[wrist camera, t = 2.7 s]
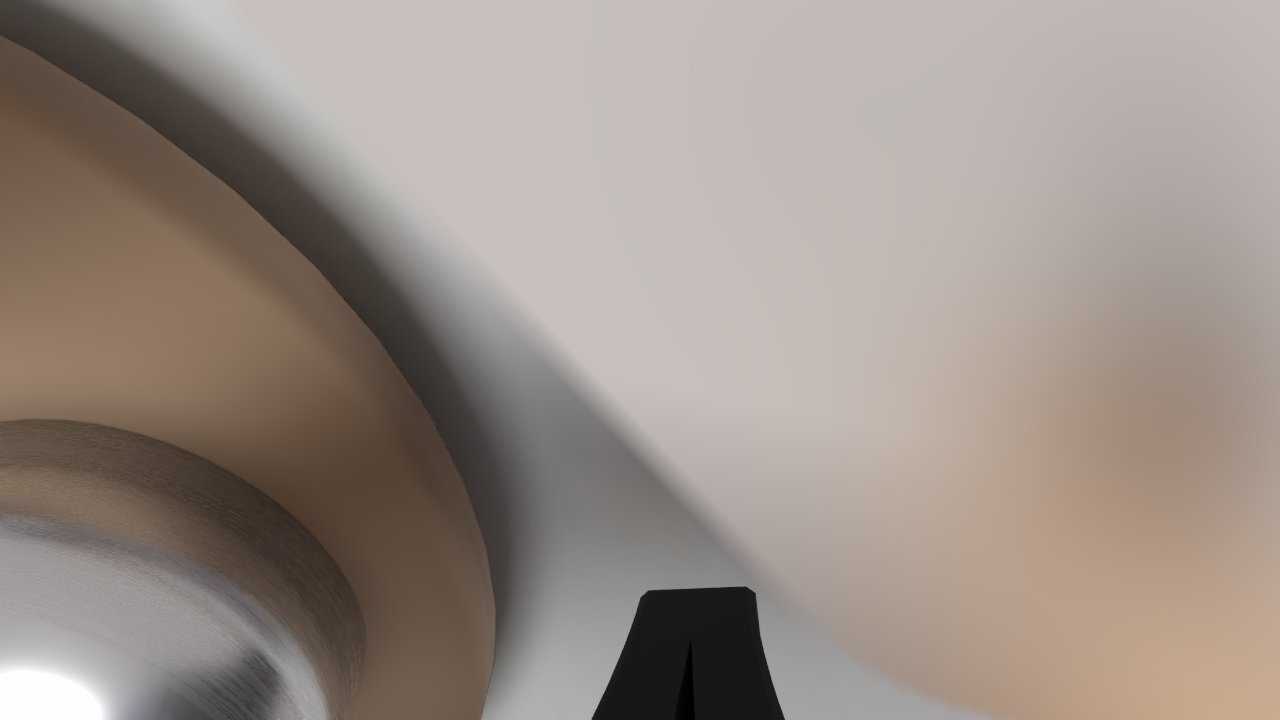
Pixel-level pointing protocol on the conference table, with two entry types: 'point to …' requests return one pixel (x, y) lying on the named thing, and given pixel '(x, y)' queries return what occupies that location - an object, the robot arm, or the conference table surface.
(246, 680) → the aluminium cap
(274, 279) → the platter
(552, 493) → the conference table surface
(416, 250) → the conference table surface
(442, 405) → the conference table surface
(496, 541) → the conference table surface
